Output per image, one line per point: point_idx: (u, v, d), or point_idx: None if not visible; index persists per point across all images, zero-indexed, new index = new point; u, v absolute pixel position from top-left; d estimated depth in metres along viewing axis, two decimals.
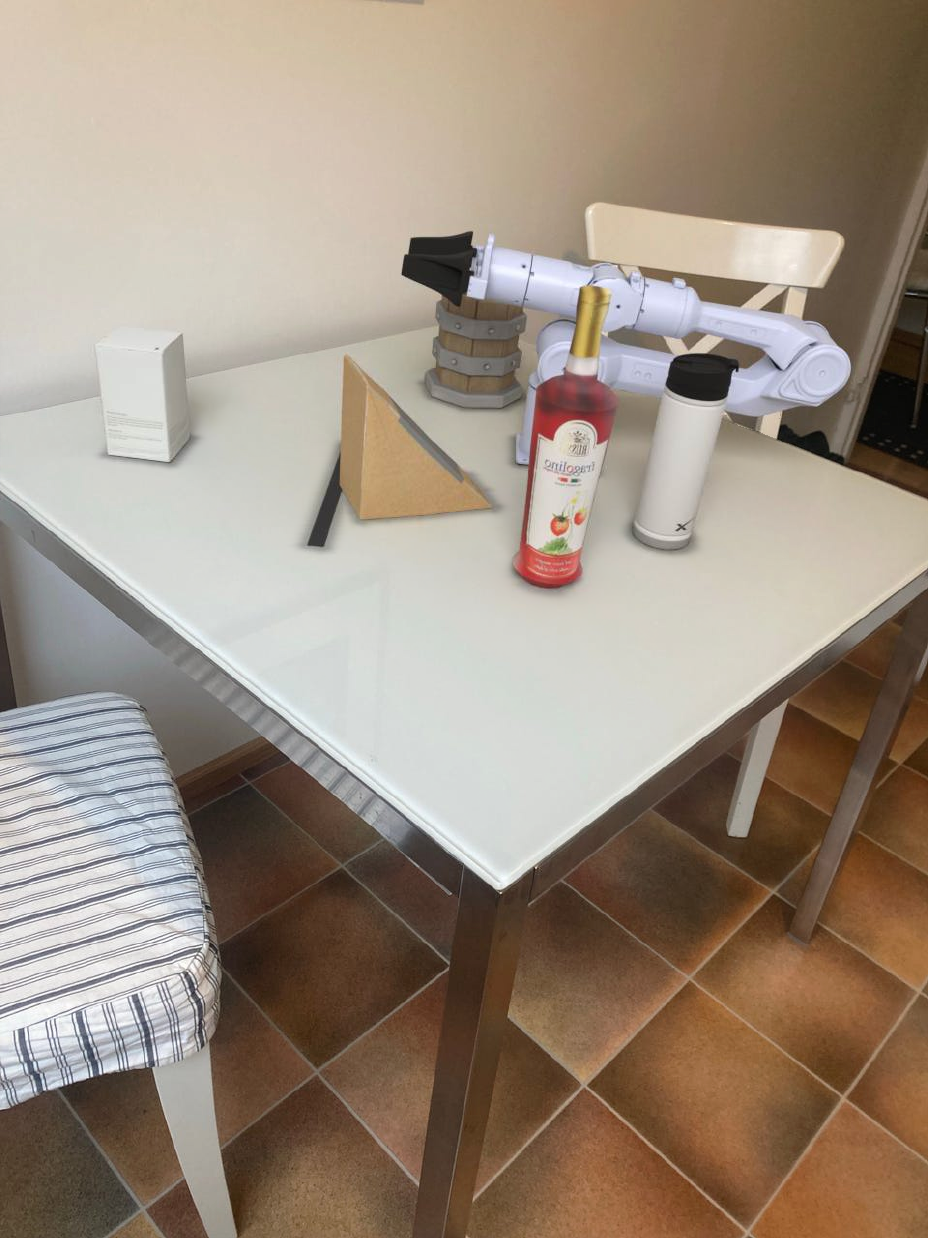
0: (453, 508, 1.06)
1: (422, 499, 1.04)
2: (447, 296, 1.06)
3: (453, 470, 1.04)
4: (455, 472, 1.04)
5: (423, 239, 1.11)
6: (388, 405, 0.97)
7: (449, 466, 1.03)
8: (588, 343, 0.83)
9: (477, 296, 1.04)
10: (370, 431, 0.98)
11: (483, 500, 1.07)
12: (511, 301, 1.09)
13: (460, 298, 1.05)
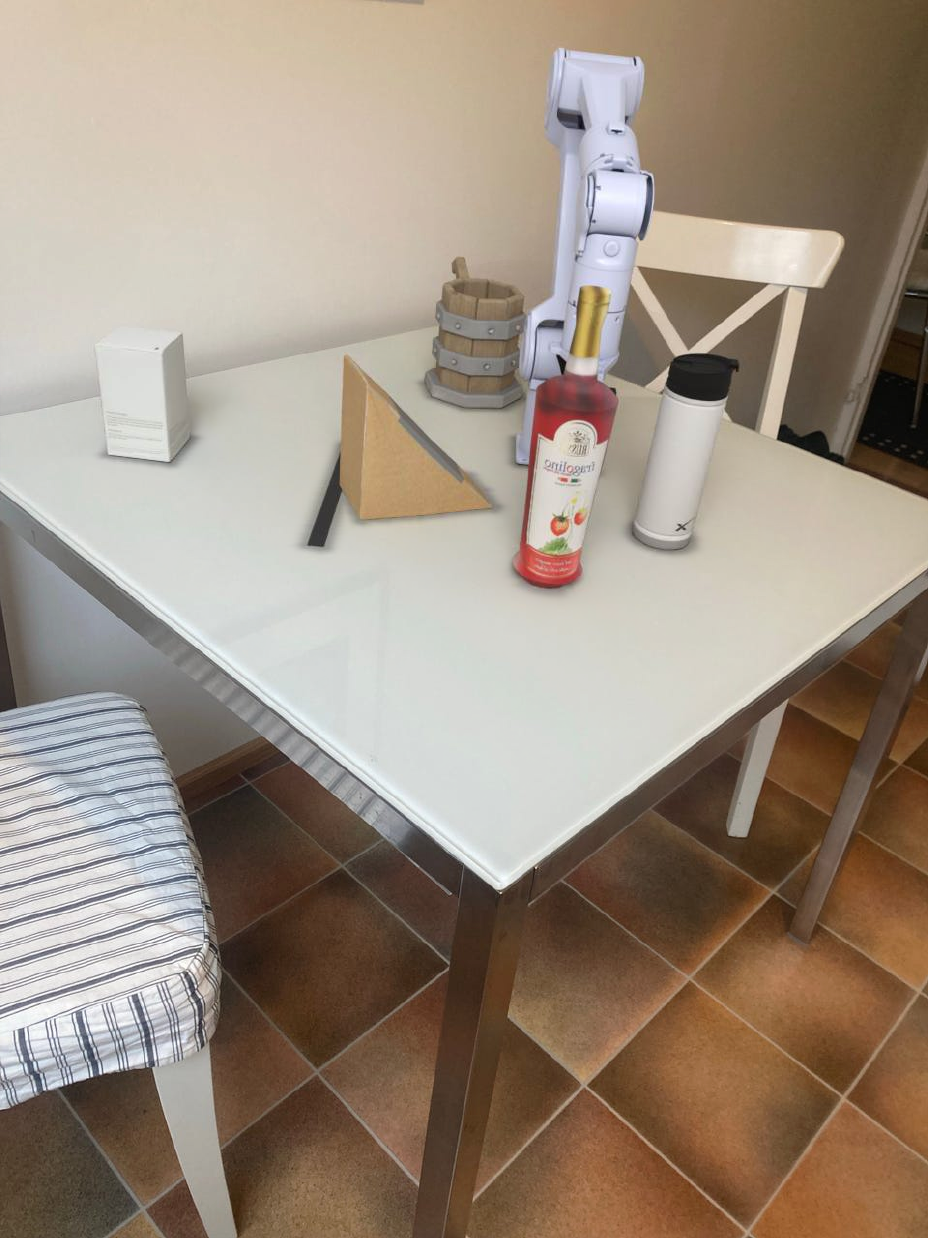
0: (453, 508, 1.06)
1: (422, 500, 1.04)
2: None
3: (453, 470, 1.04)
4: (455, 472, 1.04)
5: None
6: (388, 405, 0.97)
7: (449, 466, 1.03)
8: (588, 343, 0.83)
9: None
10: (370, 432, 0.98)
11: (483, 500, 1.07)
12: (616, 325, 0.95)
13: None
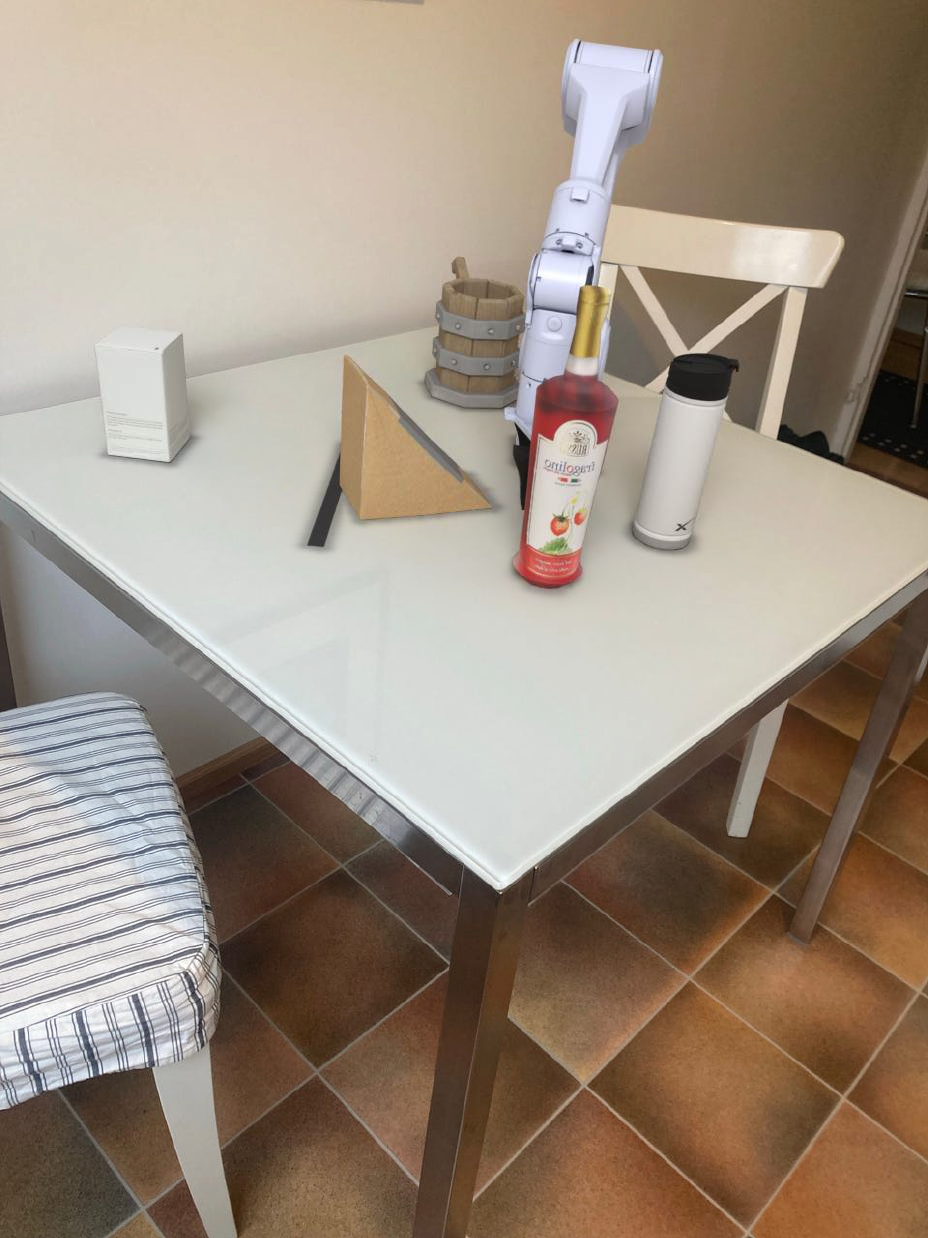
0: (453, 508, 1.06)
1: (422, 500, 1.04)
2: None
3: (453, 470, 1.04)
4: (455, 472, 1.04)
5: None
6: (388, 405, 0.97)
7: (449, 466, 1.03)
8: (588, 343, 0.83)
9: None
10: (370, 432, 0.98)
11: (483, 500, 1.07)
12: None
13: None
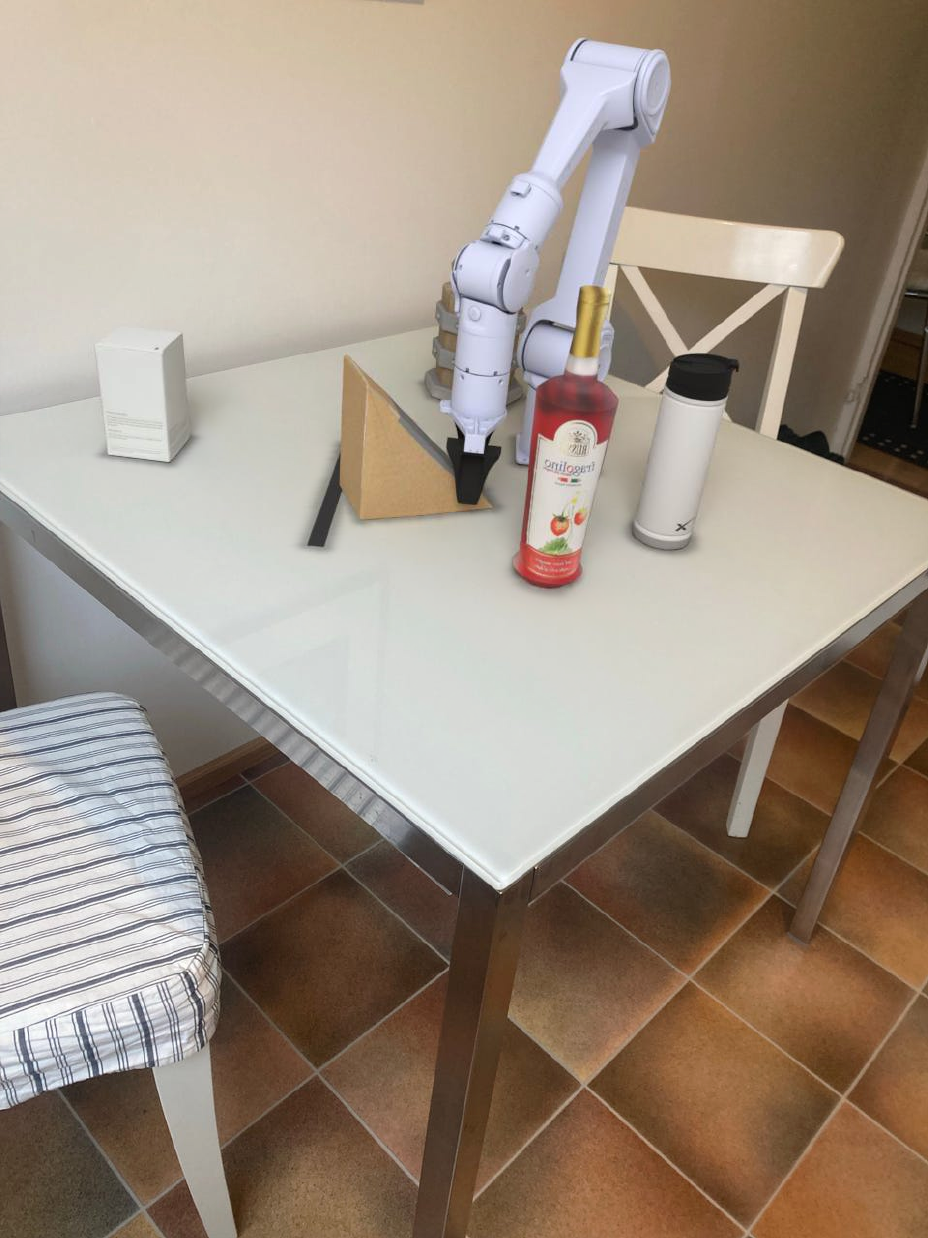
0: (453, 508, 1.06)
1: (422, 500, 1.04)
2: (490, 465, 1.00)
3: (453, 470, 1.04)
4: None
5: None
6: (388, 405, 0.97)
7: (449, 466, 1.03)
8: (588, 343, 0.83)
9: (482, 443, 0.97)
10: (370, 432, 0.98)
11: (483, 500, 1.07)
12: (500, 387, 0.99)
13: (489, 455, 0.99)
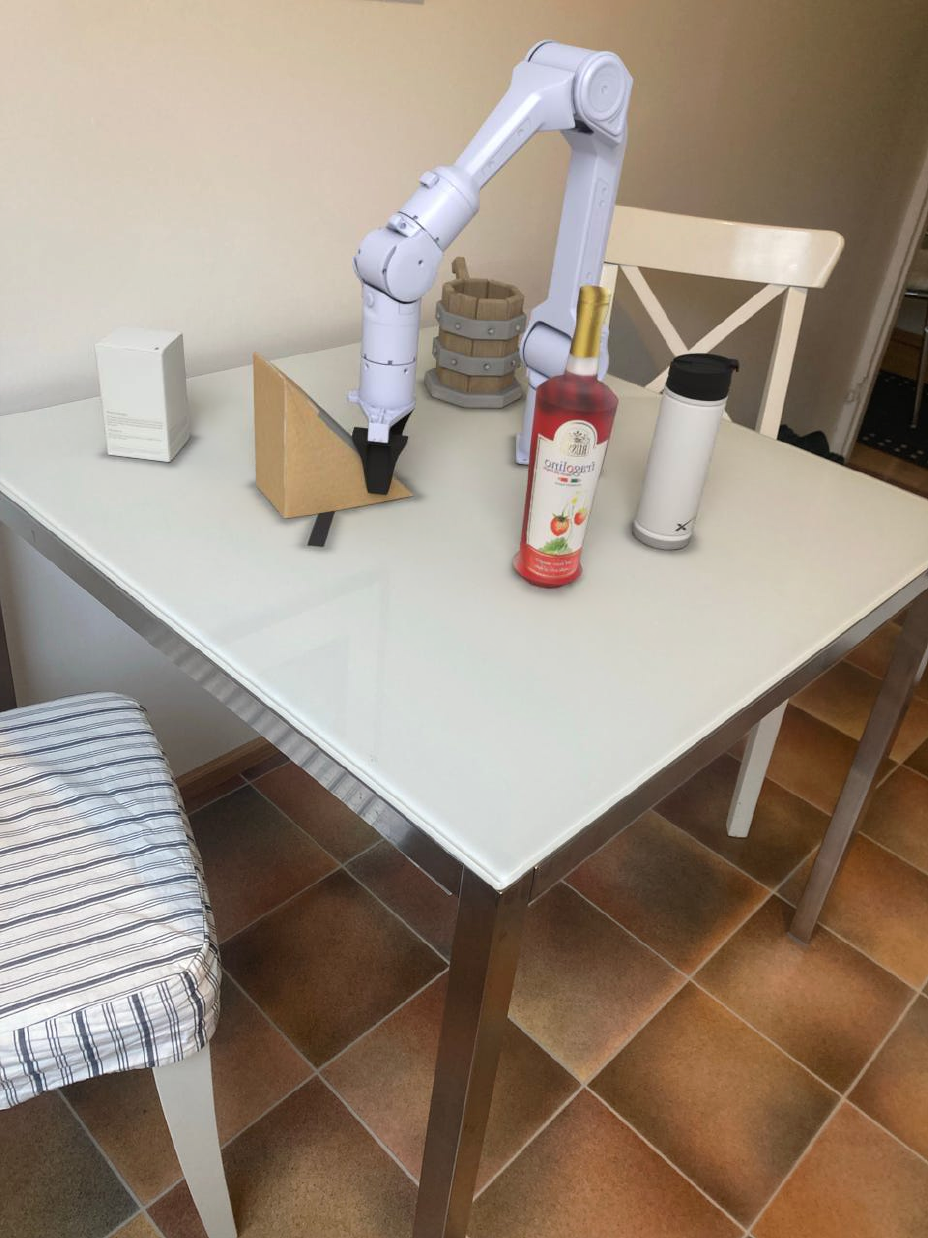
0: (376, 499, 1.06)
1: (345, 493, 1.04)
2: (397, 455, 1.00)
3: None
4: None
5: None
6: (307, 400, 0.96)
7: None
8: (588, 343, 0.83)
9: (386, 432, 0.97)
10: (290, 428, 0.96)
11: (404, 489, 1.08)
12: (406, 376, 0.99)
13: (395, 444, 0.99)
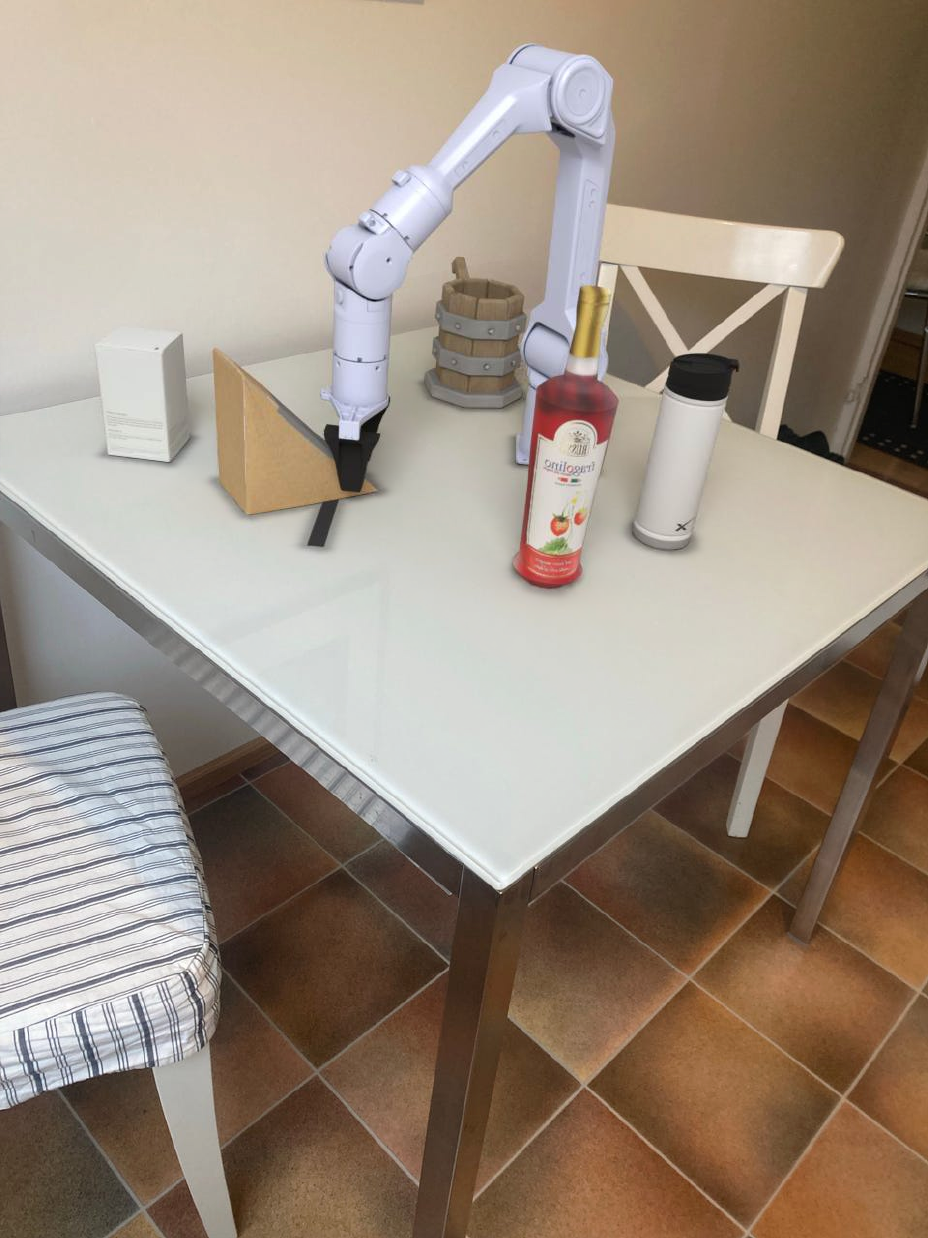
0: (339, 495, 1.06)
1: (308, 489, 1.04)
2: (368, 452, 1.00)
3: None
4: None
5: None
6: (266, 396, 0.96)
7: (331, 453, 1.03)
8: (588, 343, 0.83)
9: (356, 429, 0.97)
10: (250, 424, 0.96)
11: (368, 484, 1.08)
12: (378, 373, 0.99)
13: (366, 442, 0.99)
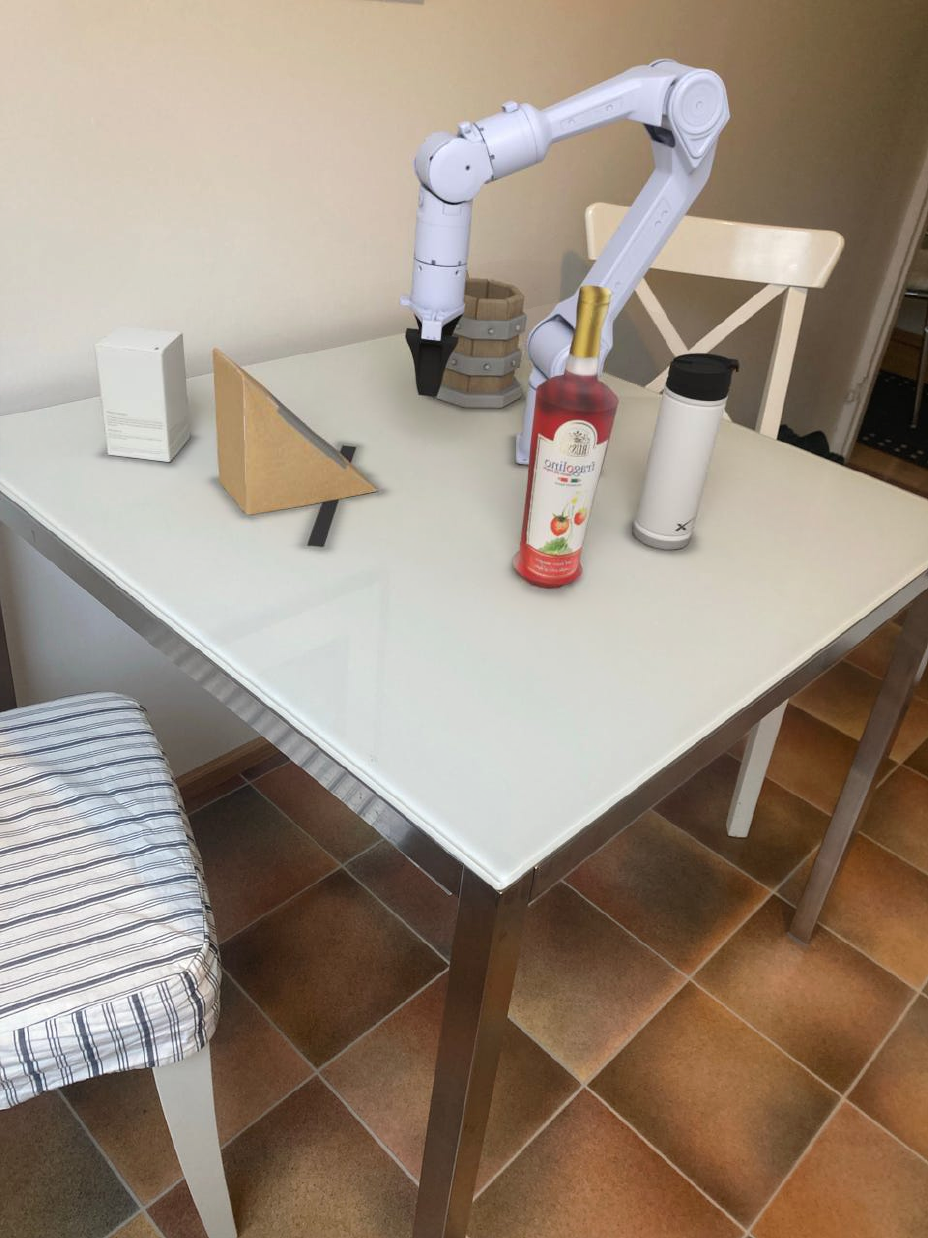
0: (339, 495, 1.06)
1: (308, 489, 1.04)
2: (448, 354, 1.04)
3: (336, 457, 1.04)
4: (338, 458, 1.04)
5: None
6: (266, 396, 0.96)
7: (331, 453, 1.03)
8: (588, 343, 0.83)
9: (439, 329, 1.01)
10: (250, 424, 0.96)
11: (368, 484, 1.08)
12: (457, 278, 1.03)
13: (446, 343, 1.03)
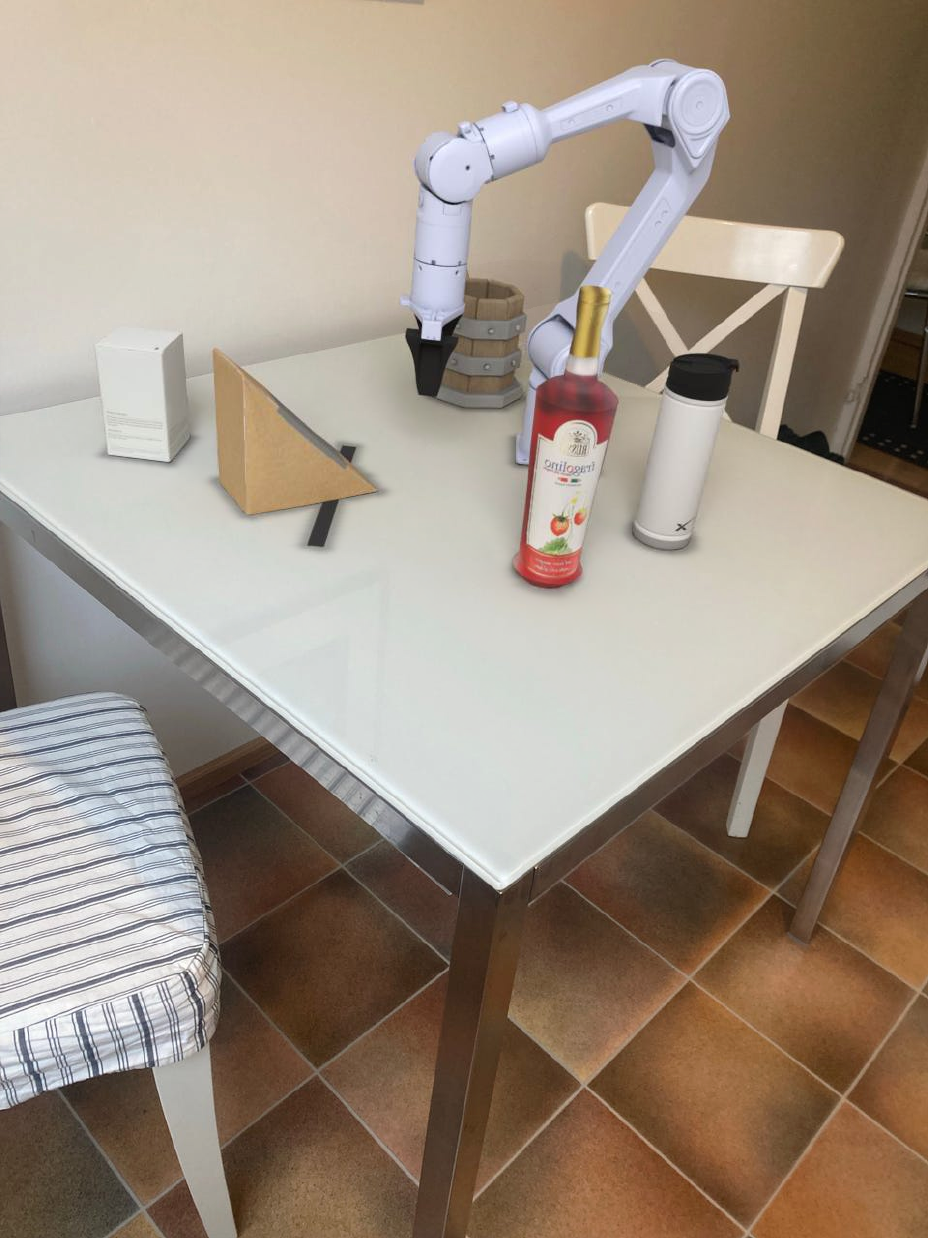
0: (339, 495, 1.06)
1: (308, 489, 1.04)
2: (448, 354, 1.04)
3: (336, 457, 1.04)
4: (338, 458, 1.04)
5: None
6: (266, 396, 0.96)
7: (331, 453, 1.03)
8: (588, 343, 0.83)
9: (439, 329, 1.01)
10: (250, 424, 0.96)
11: (368, 484, 1.08)
12: (457, 278, 1.03)
13: (446, 343, 1.03)
